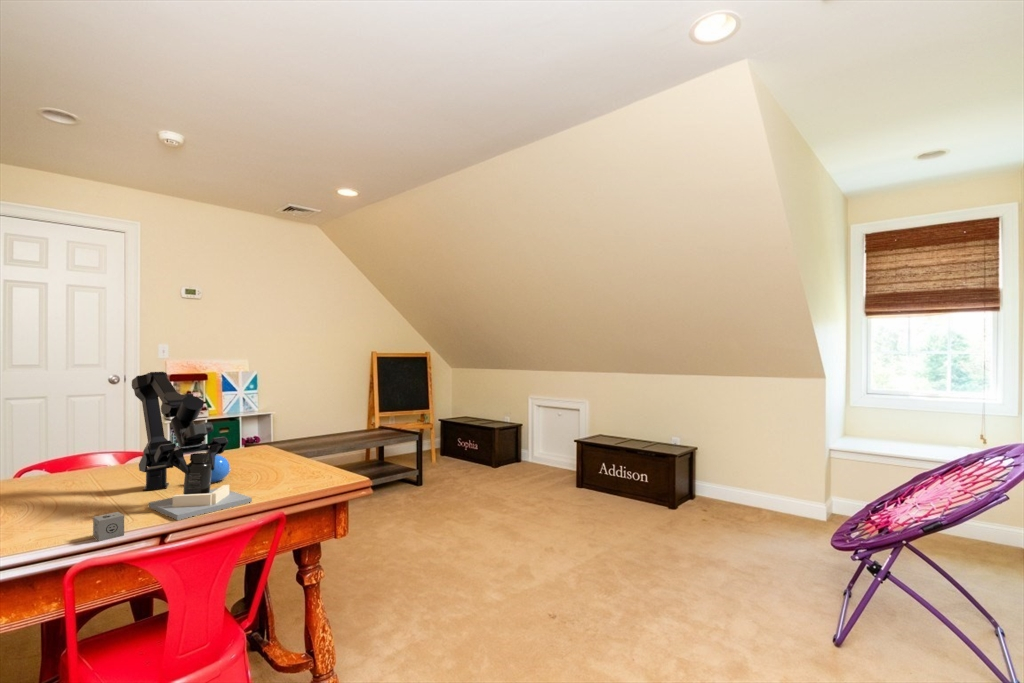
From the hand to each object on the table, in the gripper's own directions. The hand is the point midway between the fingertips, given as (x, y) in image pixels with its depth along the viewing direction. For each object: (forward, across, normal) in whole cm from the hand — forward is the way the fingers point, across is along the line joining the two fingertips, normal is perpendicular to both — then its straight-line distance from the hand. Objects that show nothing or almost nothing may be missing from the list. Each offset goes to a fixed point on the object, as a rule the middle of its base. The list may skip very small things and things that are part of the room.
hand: (201, 471), depth 151 cm
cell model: (-12, +16, +26) cm, 33 cm away
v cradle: (+7, 0, +7) cm, 10 cm away
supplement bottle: (+4, -1, +6) cm, 7 cm away
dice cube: (+14, -25, +1) cm, 28 cm away
